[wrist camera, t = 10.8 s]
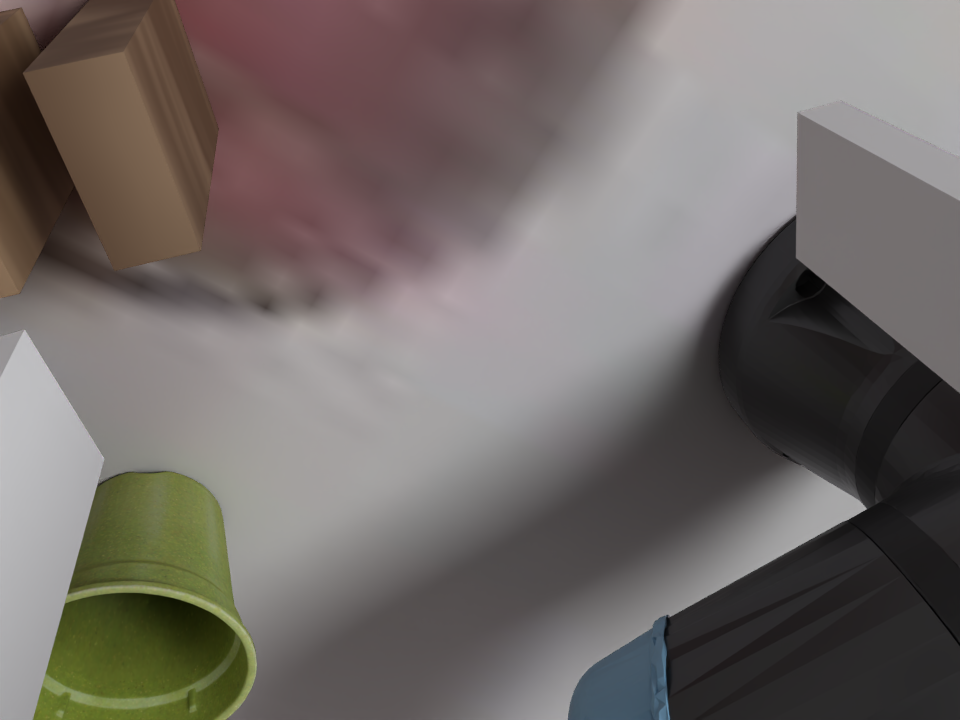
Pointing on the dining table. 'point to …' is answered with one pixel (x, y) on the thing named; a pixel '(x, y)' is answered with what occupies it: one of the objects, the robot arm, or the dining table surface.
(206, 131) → the domino
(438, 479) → the dining table surface
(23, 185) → the domino
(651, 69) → the dining table surface
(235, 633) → the plant pot
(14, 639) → the robot arm
